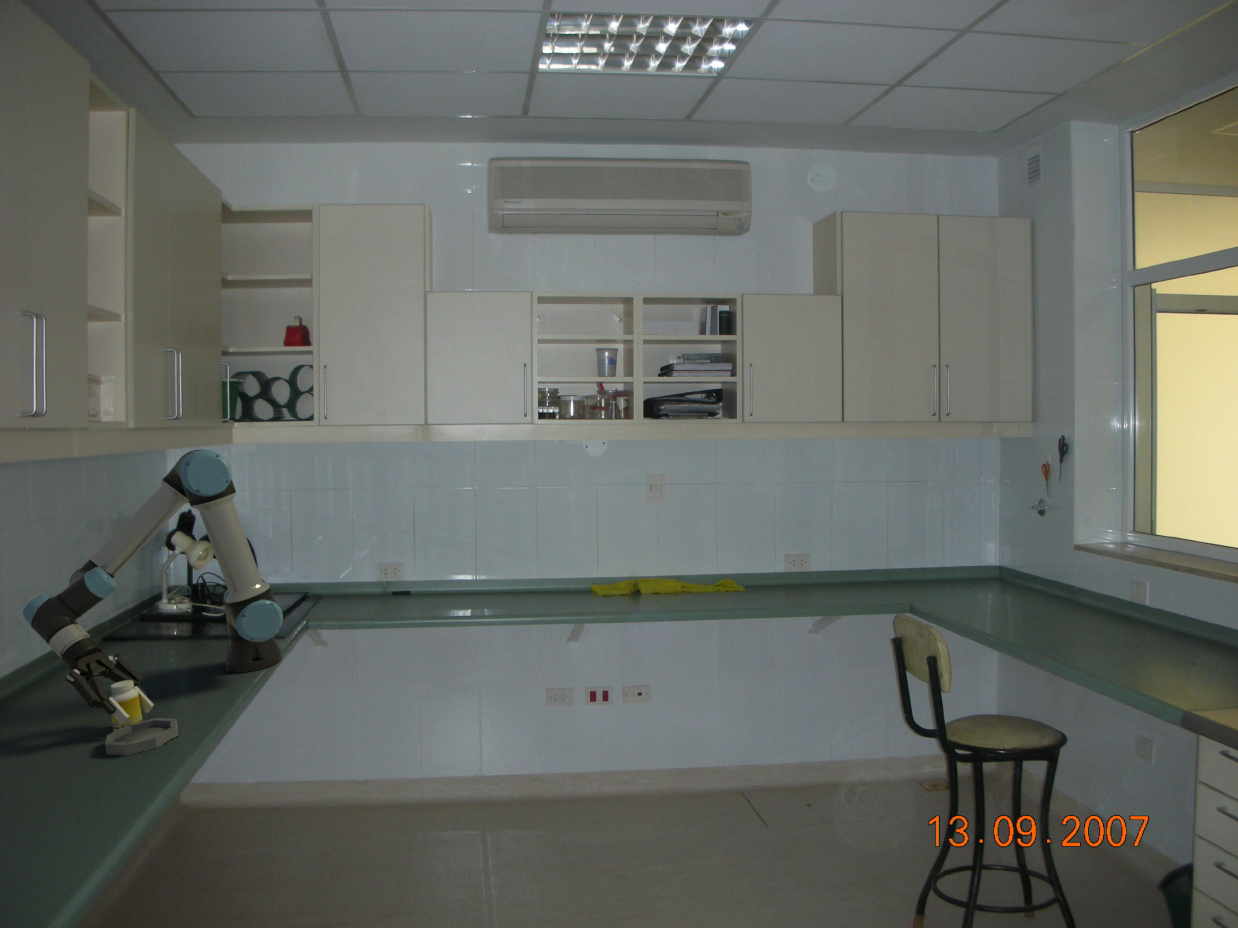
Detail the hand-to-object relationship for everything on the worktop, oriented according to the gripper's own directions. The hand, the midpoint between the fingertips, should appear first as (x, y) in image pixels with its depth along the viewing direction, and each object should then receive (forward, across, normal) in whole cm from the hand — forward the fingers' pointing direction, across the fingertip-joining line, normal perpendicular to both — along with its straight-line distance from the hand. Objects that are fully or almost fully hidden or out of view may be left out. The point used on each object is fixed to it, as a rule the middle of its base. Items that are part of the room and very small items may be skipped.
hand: (138, 714), depth 194 cm
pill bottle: (0, 0, -5) cm, 5 cm away
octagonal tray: (+8, +6, +3) cm, 10 cm away
